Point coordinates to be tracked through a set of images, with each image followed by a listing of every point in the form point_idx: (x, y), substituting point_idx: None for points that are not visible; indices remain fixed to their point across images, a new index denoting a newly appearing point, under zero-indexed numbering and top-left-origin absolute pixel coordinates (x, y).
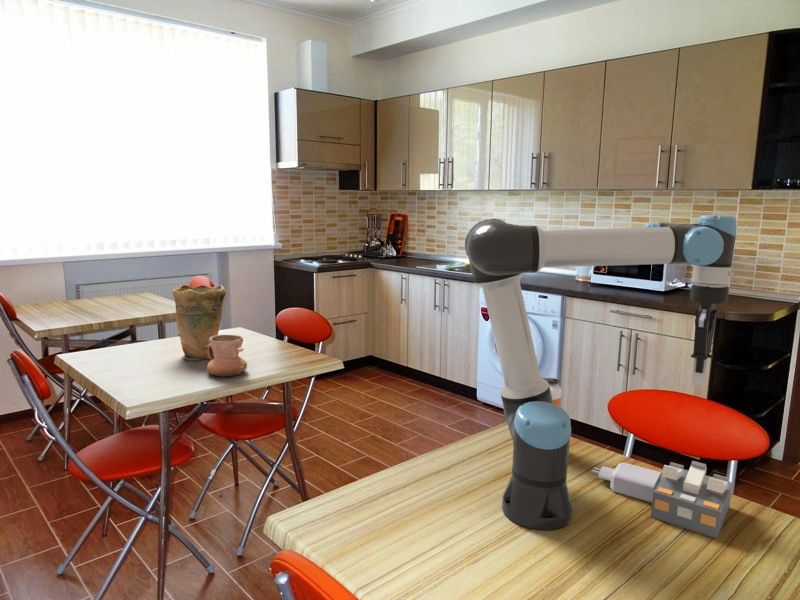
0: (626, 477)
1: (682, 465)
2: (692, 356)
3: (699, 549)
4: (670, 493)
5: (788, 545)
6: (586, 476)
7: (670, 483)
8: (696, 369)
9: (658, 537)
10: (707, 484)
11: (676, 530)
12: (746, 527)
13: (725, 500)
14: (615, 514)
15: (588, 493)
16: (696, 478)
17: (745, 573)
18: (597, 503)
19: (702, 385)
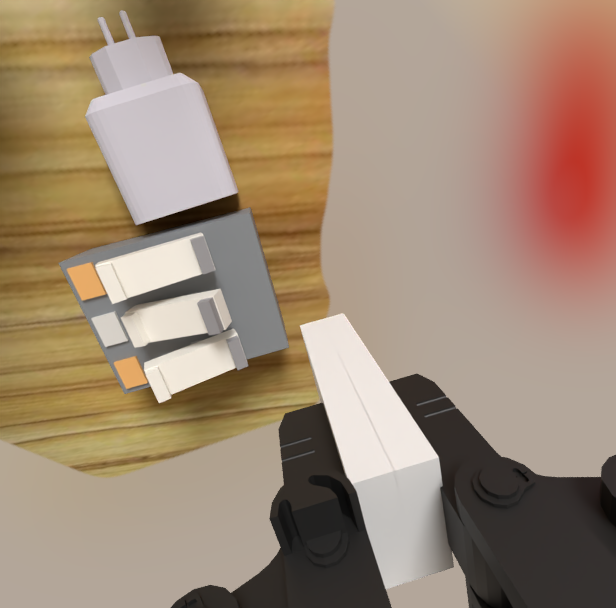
0: (106, 148)
1: (208, 269)
2: (279, 520)
3: (76, 362)
4: (86, 297)
5: (236, 429)
6: (110, 8)
7: None
8: (282, 442)
9: (33, 300)
10: (144, 367)
11: None
12: (234, 372)
13: None
14: (15, 192)
15: (30, 79)
16: (168, 327)
17: (84, 430)
18: (12, 130)
19: (317, 389)
